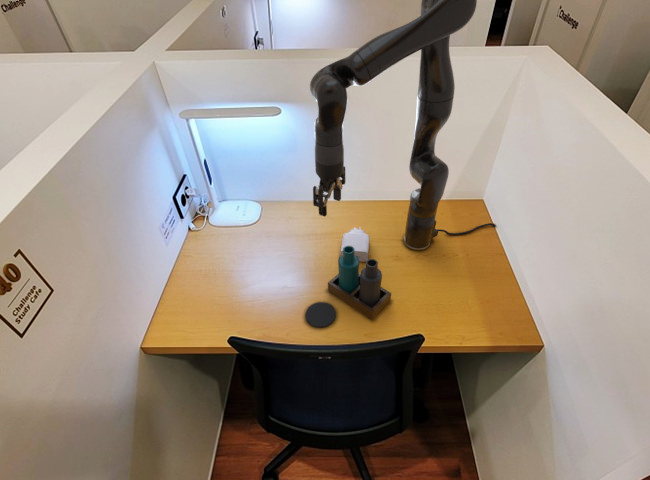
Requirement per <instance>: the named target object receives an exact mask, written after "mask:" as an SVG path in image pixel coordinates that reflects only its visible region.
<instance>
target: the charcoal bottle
mask: <svg viewBox="0 0 650 480" xmlns="http://www.w3.org/2000/svg"><path fill="white" fill-rule="evenodd" d="M378 266H379V261H377V259H375V258H368V260H367V261H365V267H364V268H362V269H361V270H360V272H359V274H360V285H359V286H360V295H359V298H358V299H359V300H360V301H362V302H363V303H365V304H366V305H368V306H369V307H371V308H373V307H374V306H375V305H376V304H377V303H378V302H379V301H380V300H381V298H380V290H381V287H382V281H383V280H382V279H383V273H382V271H381V270H380V268H379V267H378Z"/></svg>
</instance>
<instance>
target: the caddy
mask: <svg viewBox="0 0 650 480" xmlns="http://www.w3.org/2000/svg"><path fill="white" fill-rule="evenodd" d="M327 291H328V292H329V293H330V294H332V295H333V296H335V297H336V298H338V299H339V300H341V301H342V302H344V303H345V304H347V305H348V306H350V307H351V308H353V309H354V310H356V311H357V312H359V313H360V314H362V315H364V316H365V317H366V318H368V319H370V320H371V321H373V320H374V319H375V318H376V317H377V315H379V314H380V312H381V311H383V309H385V307H387V305H388V304H389V303H390V302H391V297H392V292H390V291H388V290H387V289H385V288H384V287H382V286H381V290H380V300H379V302H378V303H377V304H376V305H375V306H374V307H373V308H371V307H369V306H368V305H366V304H365V303H363V302H362V301H360V300H359V295H360V273H359V283H358V287H357V288H356V289H355V290H354V291H353V292H352V293H351V294H349V293H348V292H346V291H345V290H343V289H342V288H340V287H339V272H338V273H337V274H336V275H335V276H334V277H333V278H331V279H330V280H329V281H328V282H327Z"/></svg>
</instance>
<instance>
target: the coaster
mask: <svg viewBox="0 0 650 480" xmlns="http://www.w3.org/2000/svg"><path fill="white" fill-rule="evenodd" d="M336 316H337V312H336V309H335V307H334V306H333V305H332V304H330V303H328V302H325V301H319V302H315V303H313V304H311V305H310V306H309V307H308V308H306V311H305V320H306V322H307V324H309V325H310V326H312V327H313V328H317V329H323V328H327V327H329V326H331V325H332V324H333V323H334V322H335V320H336Z"/></svg>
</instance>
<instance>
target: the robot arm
mask: <svg viewBox="0 0 650 480" xmlns="http://www.w3.org/2000/svg"><path fill="white" fill-rule="evenodd" d="M420 3H421V4H420V16H418V17H416V18H414V19H413V20H412V21H410V22H408V23H406V24H403V25H401V26H399V27H396V28H393V29H391V30H388V31H386V32H384V33H381V34H379V35H377V36H375V37H373V38H371V39H370V40H369V41H367V42H365V43H364V44H363V45H362V46H360V47H359V48H357V49H356V50H354V51H353V52H352V53H351V54H349V55H347V56H346V57H344V58H341V59H337V60H336V61H334V62H332V63H329V64H328V65H325V66H324V67H322V68H320V69H319V70H318V71H316V73H315V74H314V75H313V76H312V78H311V80H310V83H309V91H310V94H311V96H312V98H314V100H315V101H316V103H317V110H318V112H317V117H316V118H315V120H314V140H315V141H314V163H315V164H314V166H315V174H316V175H317V176H318V178H319V185H313V187H312V199H313V200H312V205H313V207H317V208H318V215H319V216H322V217H325V218H326V216H327V215H328V208H327V207H328V206H327V204H328V201H329V199H331V196H333V197H332V198H333V200H334V201H336V202H340V201H341V200H342V190H343V187H344V186H345V184H346V166H345V165H344V164H345V147H344V122H345V118H346V113H347V108H348V91H347V89H348V88H350V87H352V86H357V87H363V86H366V85H367V84H369V83H370V82H372V81H373V80H375V79H376V78H377V77H379V76H380V75H382V74H384V73H385V72H386V71H387V70H390V68H392V67H393V66H395V65H396V64H398V63H399V62H401V61H403V60H405V59H406V58H408V57H409V56H411V55H414V54H415V53H417V52H419V51H420V61H419V74H418V86H417V87H418V88H417V97H416V110H415V111H416V115H415V124H414V125H415V127H414V137H413V142H412V149H411V154H410V158H409V165H408V166H409V169H408V170H409V173H410V176H411V178H412V179H413V180H414V181H415V182H416V183H418V184H419V185H420V188H415V189H414V190H412V192H411V193H410V196H409V202H408V209H407V215H406V216H407V217H406V221H405V222H406V223H405V230H404V233H403V244H404V245H405V246H406V247H407V248H408V249H410V250H412V251H425V250H426V249H428V248H429V246H430V245H431V243H433V240H434V238H436V237H438V235H439V232H441V233H445V234H446V235H449V236H461V235H466V234H469V233H472V232H474V231H475V230H478V229H480V228H484V227H488V226H492V227H497V225H496V224H495V223H492V222H488V223H485V224H481V225H478V226H476V227H474V228H472V229H469V230H466V231H463V232H449V231H447V230H445V229H436V225H437V220H436V216H437V212H438V208H439V207H438V206H439V204H440V201H441V200H442V198H443V196H444V192H445V189H446V186H447V182H448V180H449V179H448V178H449V173H450V172H449V171H450V169H449V165H448V164H447V163H445V161H443V160H442V159H441V158H439V157H438V156H437V155H436V152H435V149H436V148H435V146H436V141H437V136H438V134H439V133H440V131H441V130H442V129H443V128H444V126H445V125H446V123H447V122H448V121H449V118H450V117H451V114H452V110H453V104H454V97H455V76H454V71H453V65H452V61H451V55H450V54H451V53H450V38H451V35H453V34H456V33H457V32H459V31H461V30H462V29H463V28H465V27H466V26H467V25H468V24H469V22H470V21H471V20H472V18H473V17H474V14H475V13H476V9H477V4H478V0H421V2H420ZM343 185H344V186H343ZM325 193H326V194H325ZM332 194H333V195H332Z"/></svg>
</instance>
